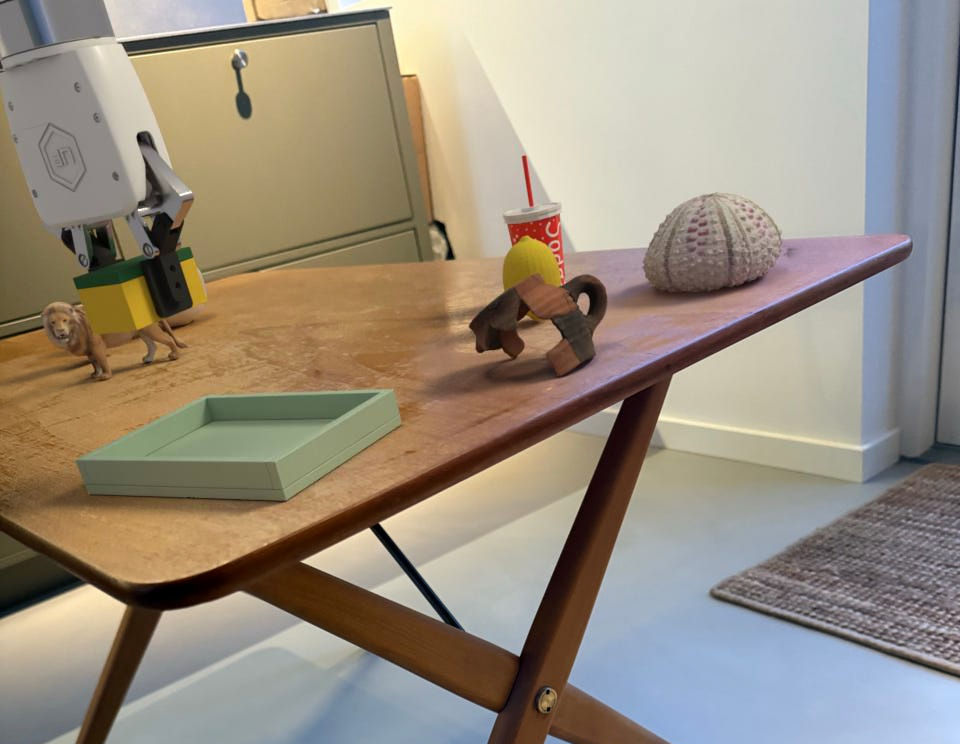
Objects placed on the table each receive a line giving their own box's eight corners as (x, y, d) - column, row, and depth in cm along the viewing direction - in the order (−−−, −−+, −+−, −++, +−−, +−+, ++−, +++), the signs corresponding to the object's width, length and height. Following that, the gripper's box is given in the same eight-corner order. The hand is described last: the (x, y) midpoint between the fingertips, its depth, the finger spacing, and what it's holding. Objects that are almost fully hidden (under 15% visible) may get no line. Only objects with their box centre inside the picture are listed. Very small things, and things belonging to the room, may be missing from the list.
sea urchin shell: (736, 299, 93) (730, 206, 89) (617, 300, 102) (607, 214, 99) (809, 263, 101) (806, 175, 97) (691, 266, 110) (685, 186, 106)
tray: (88, 494, 78) (74, 459, 77) (215, 426, 89) (205, 395, 87) (286, 501, 68) (274, 461, 67) (402, 424, 79) (394, 388, 77)
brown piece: (538, 395, 80) (476, 306, 79) (502, 424, 89) (447, 344, 88) (650, 315, 83) (592, 228, 82) (604, 351, 92) (552, 273, 91)
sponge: (93, 334, 74) (71, 278, 72) (165, 306, 80) (146, 252, 78) (137, 330, 72) (116, 271, 70) (208, 301, 77) (190, 246, 76)
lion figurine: (73, 392, 113) (41, 309, 108) (61, 386, 117) (29, 306, 112) (197, 353, 119) (171, 273, 115) (181, 349, 123) (155, 271, 119)
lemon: (536, 313, 104) (523, 230, 100) (577, 314, 100) (566, 227, 96) (498, 329, 101) (484, 244, 97) (539, 330, 97) (526, 242, 93)
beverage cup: (537, 307, 106) (514, 161, 100) (506, 303, 111) (482, 163, 105) (585, 292, 109) (566, 147, 102) (553, 288, 113) (533, 150, 107)
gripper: (-73, 66, 69) (37, 338, 77) (97, 8, 60) (199, 321, 69) (17, 55, 74) (110, 310, 83) (185, 0, 66) (269, 292, 74)
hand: (150, 312), depth 76 cm, fingers closed on sponge, 4 cm apart
